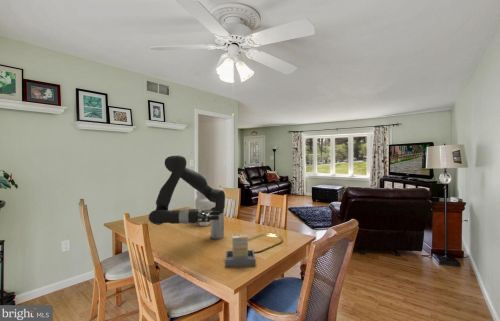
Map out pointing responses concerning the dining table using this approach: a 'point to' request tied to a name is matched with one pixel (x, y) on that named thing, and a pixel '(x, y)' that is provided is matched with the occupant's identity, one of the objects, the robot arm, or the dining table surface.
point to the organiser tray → (240, 262)
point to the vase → (202, 205)
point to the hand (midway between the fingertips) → (219, 215)
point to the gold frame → (266, 235)
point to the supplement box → (240, 246)
